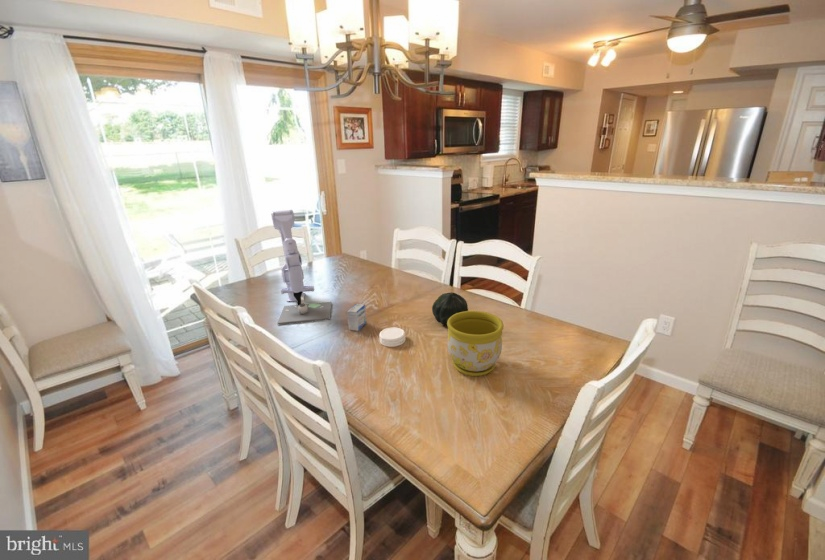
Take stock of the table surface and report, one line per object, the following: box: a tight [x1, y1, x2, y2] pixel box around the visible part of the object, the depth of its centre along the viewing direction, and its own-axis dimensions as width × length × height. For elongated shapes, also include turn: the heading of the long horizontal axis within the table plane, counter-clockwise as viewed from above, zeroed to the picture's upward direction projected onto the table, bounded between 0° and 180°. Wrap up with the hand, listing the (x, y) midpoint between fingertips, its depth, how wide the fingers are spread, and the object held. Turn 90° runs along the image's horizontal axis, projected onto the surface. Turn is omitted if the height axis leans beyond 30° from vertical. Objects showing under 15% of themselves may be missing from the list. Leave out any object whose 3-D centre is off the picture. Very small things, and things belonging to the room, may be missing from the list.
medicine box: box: [346, 303, 367, 332], centre depth 150 cm, size 8×4×9 cm, turn 161°
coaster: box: [378, 326, 406, 348], centre depth 139 cm, size 10×10×4 cm
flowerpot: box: [446, 310, 504, 377], centre depth 120 cm, size 18×18×16 cm
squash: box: [431, 292, 469, 325], centre depth 151 cm, size 14×15×15 cm
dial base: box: [277, 301, 332, 325], centre depth 165 cm, size 18×22×1 cm
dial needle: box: [297, 297, 308, 314], centre depth 167 cm, size 13×4×4 cm, turn 17°
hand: (300, 306), depth 169 cm, fingers closed, pressing on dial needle
